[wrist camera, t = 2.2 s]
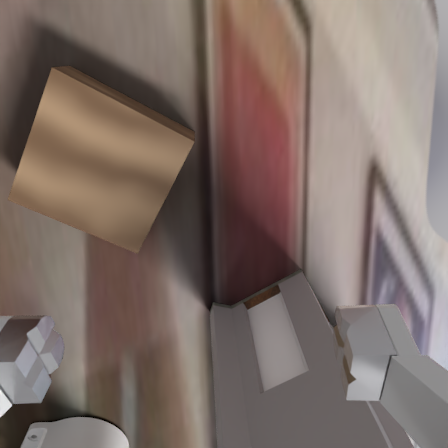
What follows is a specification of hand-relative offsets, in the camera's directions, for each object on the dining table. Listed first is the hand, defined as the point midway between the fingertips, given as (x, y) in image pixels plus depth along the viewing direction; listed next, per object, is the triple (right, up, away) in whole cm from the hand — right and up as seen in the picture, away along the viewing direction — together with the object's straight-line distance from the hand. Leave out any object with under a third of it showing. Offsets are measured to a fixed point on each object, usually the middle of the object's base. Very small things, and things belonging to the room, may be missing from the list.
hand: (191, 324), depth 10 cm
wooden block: (-12, +10, +30) cm, 34 cm away
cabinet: (+10, -7, +41) cm, 43 cm away
